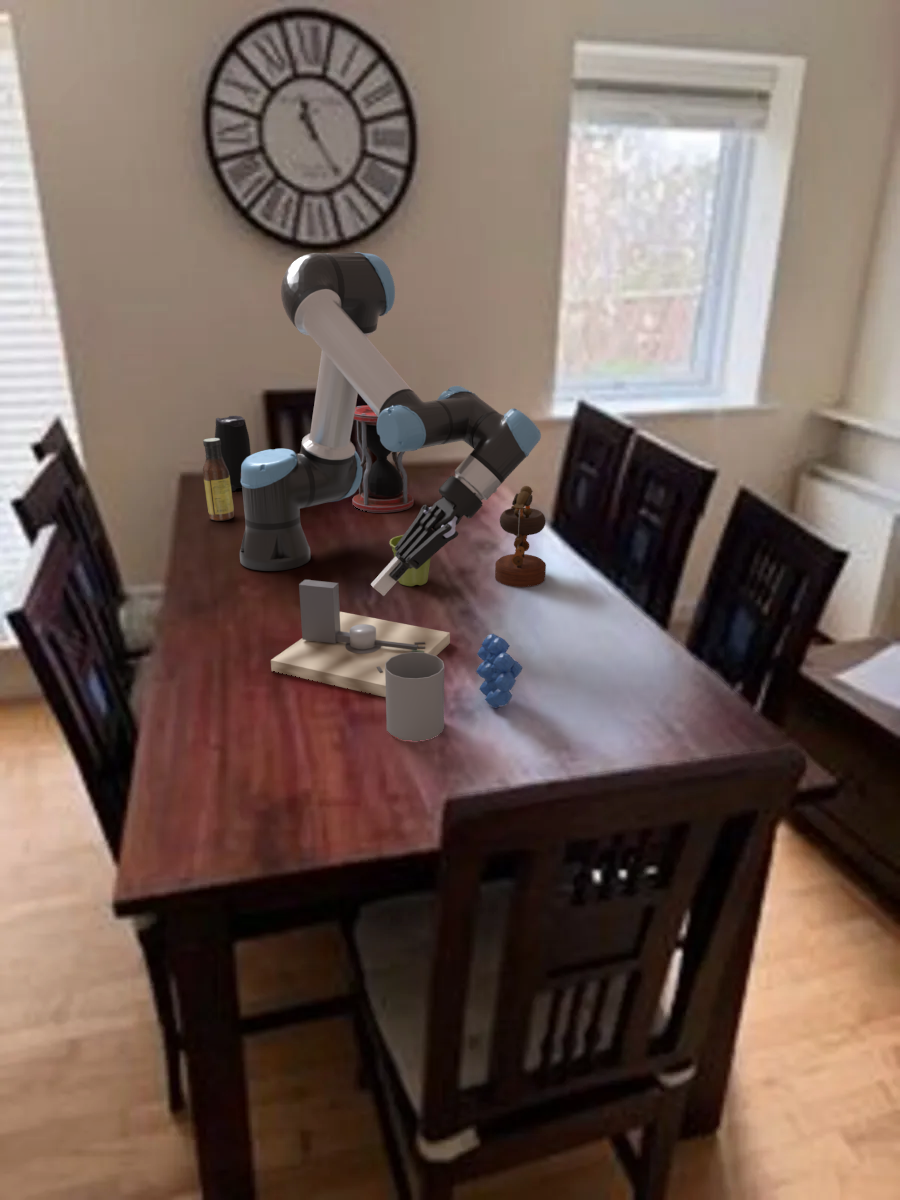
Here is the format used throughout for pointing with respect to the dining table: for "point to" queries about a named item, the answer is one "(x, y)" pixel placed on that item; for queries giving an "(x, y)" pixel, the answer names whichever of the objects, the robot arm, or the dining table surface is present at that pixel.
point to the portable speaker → (233, 446)
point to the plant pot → (412, 569)
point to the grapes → (497, 671)
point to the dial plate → (356, 655)
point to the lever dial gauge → (334, 619)
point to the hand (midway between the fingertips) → (377, 590)
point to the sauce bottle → (217, 482)
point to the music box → (521, 543)
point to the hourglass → (379, 470)
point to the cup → (414, 696)
